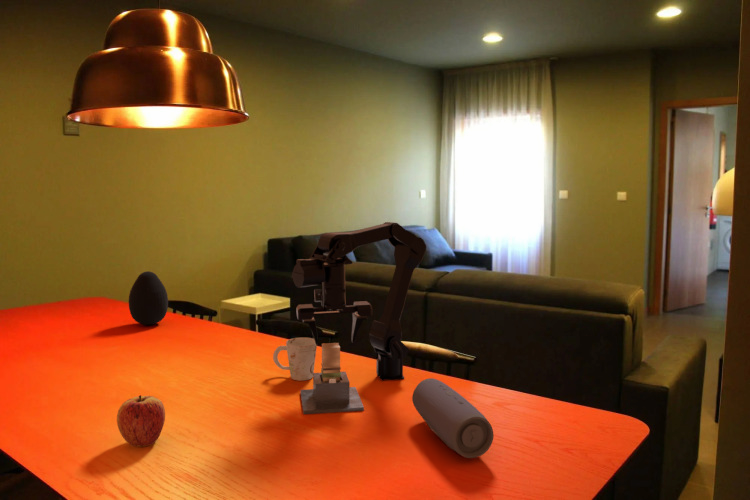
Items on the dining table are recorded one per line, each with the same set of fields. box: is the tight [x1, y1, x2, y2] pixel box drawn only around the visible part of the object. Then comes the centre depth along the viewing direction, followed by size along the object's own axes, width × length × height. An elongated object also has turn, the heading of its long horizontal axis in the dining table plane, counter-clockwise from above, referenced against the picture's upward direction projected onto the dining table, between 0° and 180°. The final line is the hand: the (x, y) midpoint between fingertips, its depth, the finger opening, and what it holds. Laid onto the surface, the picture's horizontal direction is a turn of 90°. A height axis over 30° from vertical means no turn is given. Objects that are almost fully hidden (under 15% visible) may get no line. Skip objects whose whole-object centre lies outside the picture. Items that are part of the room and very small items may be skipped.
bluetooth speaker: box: [411, 378, 494, 459], centre depth 121 cm, size 23×9×10 cm, turn 17°
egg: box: [128, 271, 169, 326], centre depth 217 cm, size 14×14×20 cm
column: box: [320, 342, 342, 381], centre depth 141 cm, size 4×4×9 cm
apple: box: [116, 395, 166, 447], centre depth 118 cm, size 9×9×10 cm
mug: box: [272, 337, 318, 382], centre depth 160 cm, size 8×13×10 cm, turn 78°
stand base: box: [300, 371, 365, 415], centre depth 142 cm, size 14×14×7 cm
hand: (334, 343), depth 149 cm, fingers open, 9 cm apart
